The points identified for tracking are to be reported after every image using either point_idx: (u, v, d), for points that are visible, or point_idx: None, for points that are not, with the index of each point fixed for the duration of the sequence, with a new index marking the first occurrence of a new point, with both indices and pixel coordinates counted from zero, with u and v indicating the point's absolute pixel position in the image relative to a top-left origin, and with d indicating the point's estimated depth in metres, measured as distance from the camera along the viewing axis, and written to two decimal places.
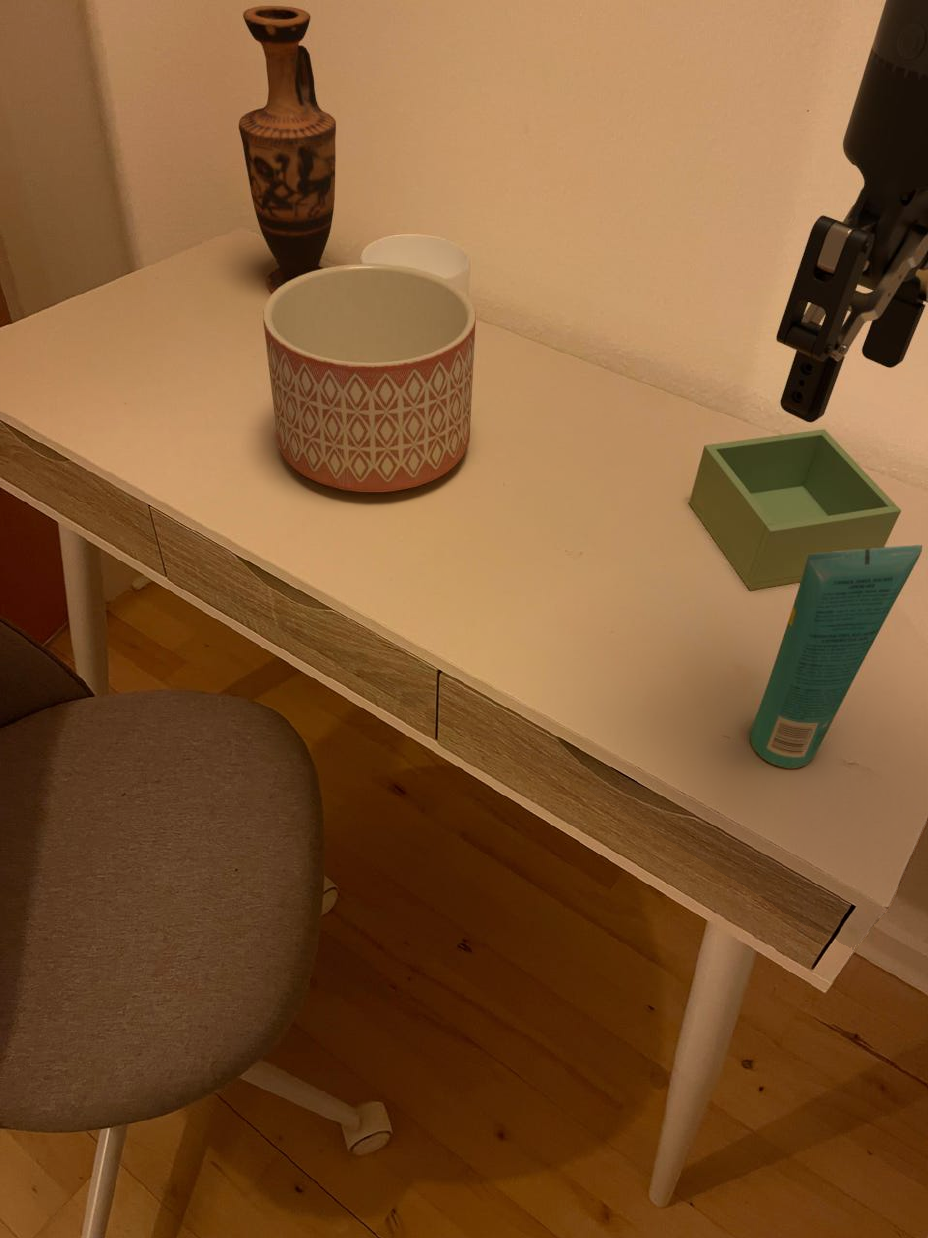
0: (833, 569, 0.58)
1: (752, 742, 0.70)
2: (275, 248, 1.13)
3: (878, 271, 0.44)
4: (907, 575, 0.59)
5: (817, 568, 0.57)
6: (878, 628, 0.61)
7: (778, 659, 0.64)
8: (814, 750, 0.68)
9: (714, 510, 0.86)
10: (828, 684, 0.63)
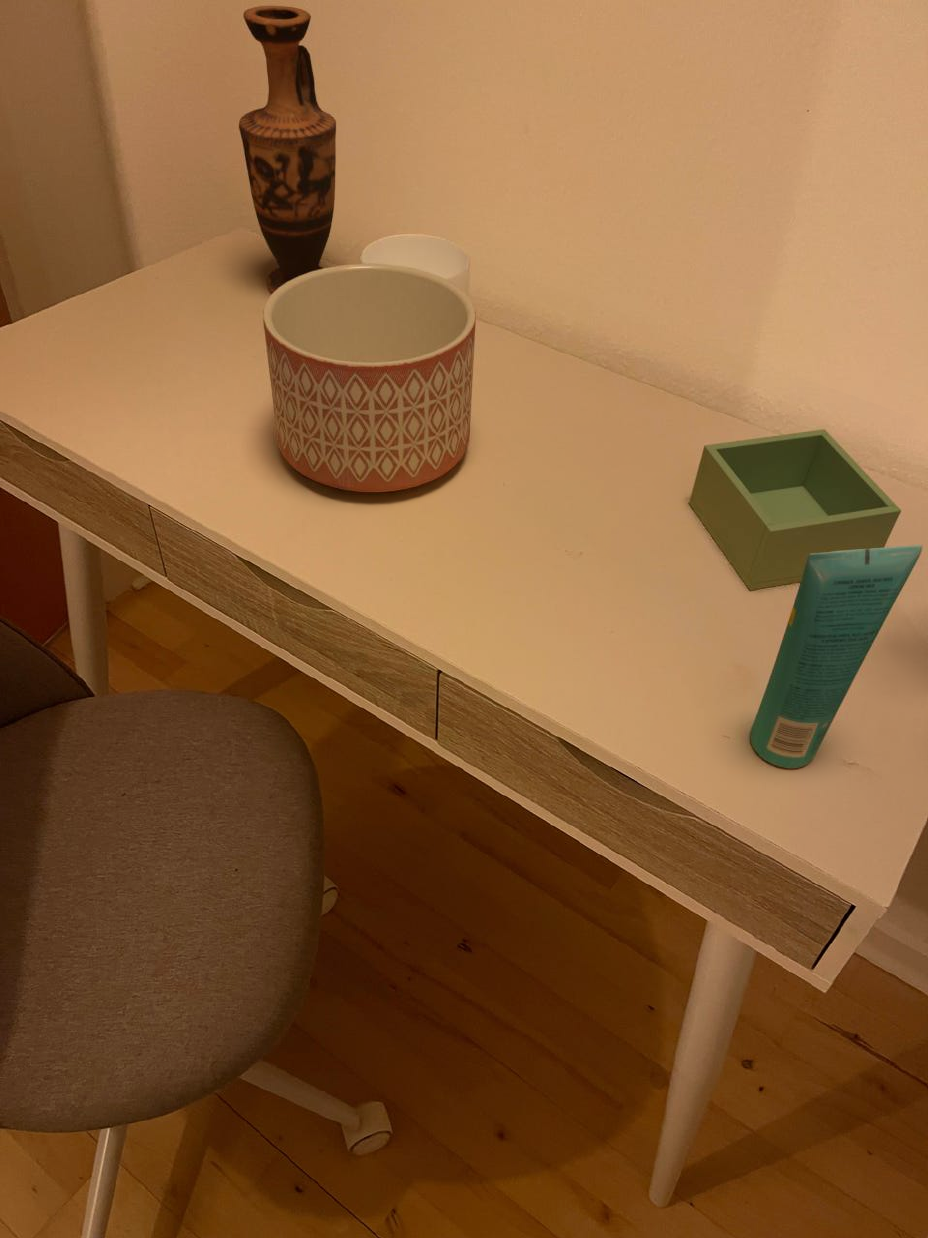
0: (833, 569, 0.58)
1: (752, 742, 0.70)
2: (275, 248, 1.13)
3: None
4: (907, 575, 0.59)
5: (817, 568, 0.57)
6: (878, 628, 0.61)
7: (778, 659, 0.64)
8: (814, 750, 0.68)
9: (714, 510, 0.86)
10: (828, 684, 0.63)
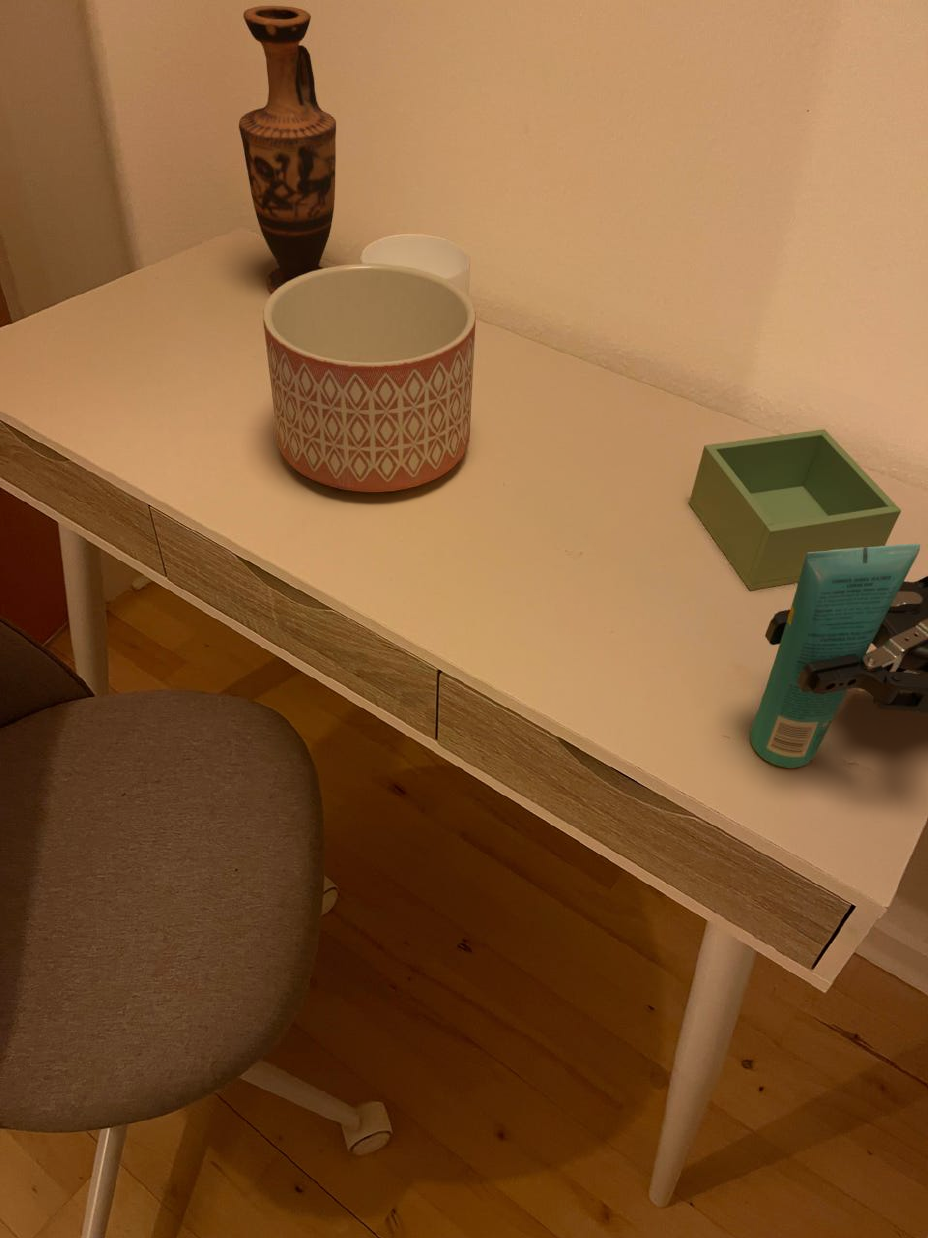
0: (831, 568, 0.58)
1: (752, 742, 0.70)
2: (275, 248, 1.13)
3: None
4: (905, 574, 0.59)
5: (815, 567, 0.57)
6: (877, 627, 0.61)
7: (777, 658, 0.64)
8: (814, 750, 0.68)
9: (714, 510, 0.86)
10: None
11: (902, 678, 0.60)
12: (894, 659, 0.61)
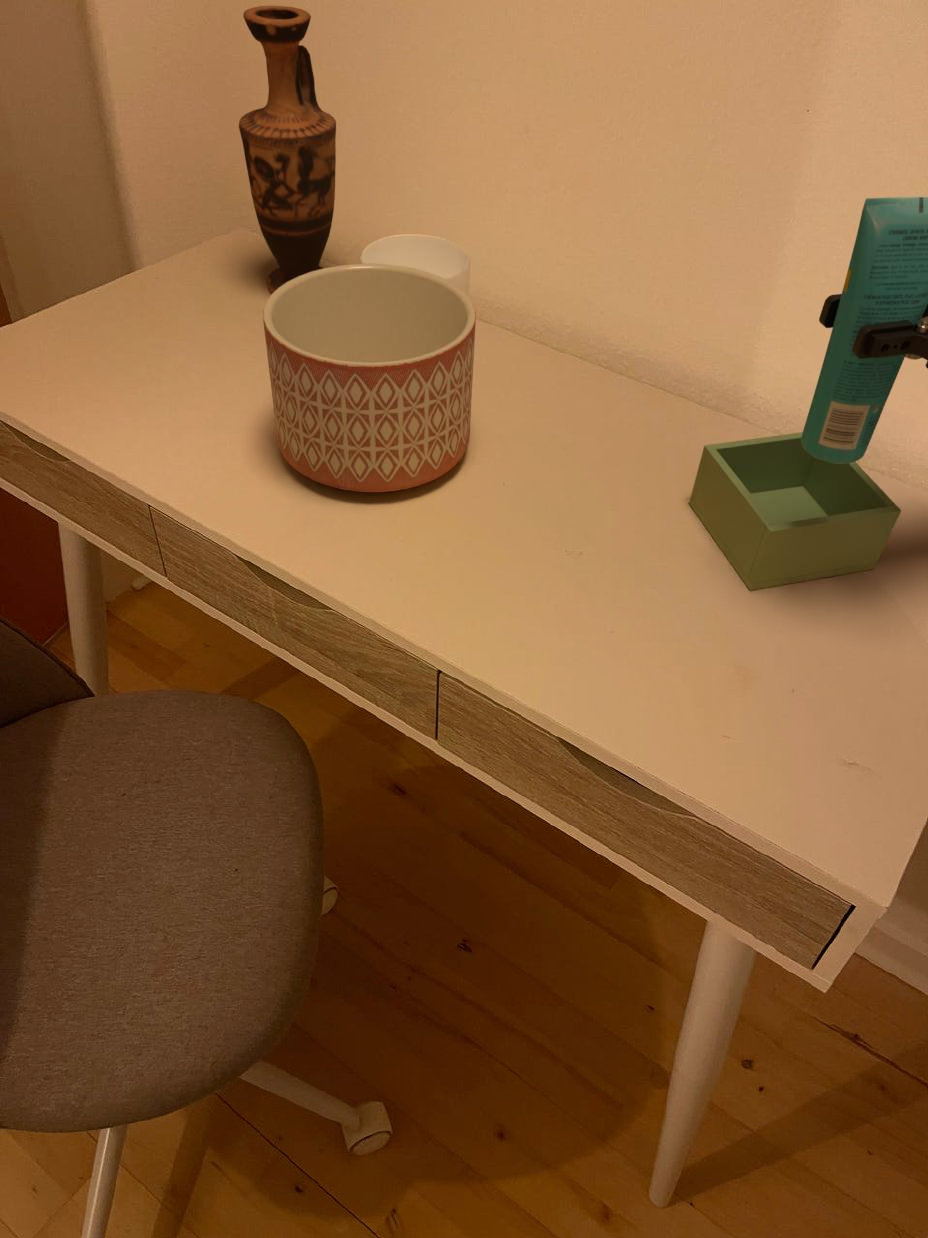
0: (888, 216, 0.60)
1: (803, 444, 0.73)
2: (275, 248, 1.13)
3: None
4: None
5: (873, 215, 0.60)
6: None
7: (832, 336, 0.67)
8: (864, 443, 0.71)
9: (714, 510, 0.86)
10: None
11: None
12: None
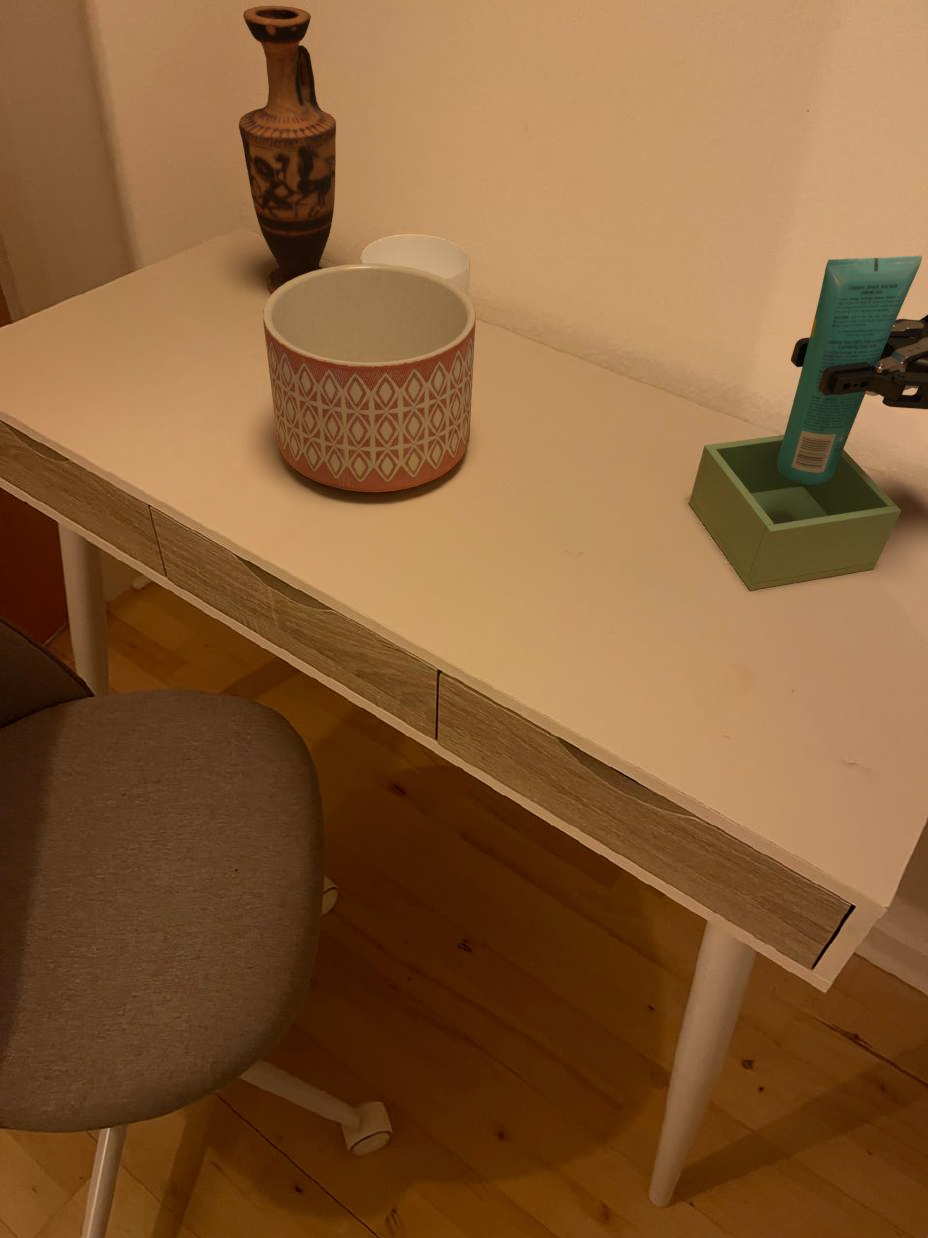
0: (848, 274, 0.70)
1: (779, 467, 0.83)
2: (275, 248, 1.13)
3: None
4: (909, 283, 0.71)
5: (834, 273, 0.70)
6: (885, 336, 0.73)
7: (801, 375, 0.76)
8: (832, 466, 0.81)
9: (714, 510, 0.86)
10: None
11: (906, 375, 0.72)
12: (900, 365, 0.74)
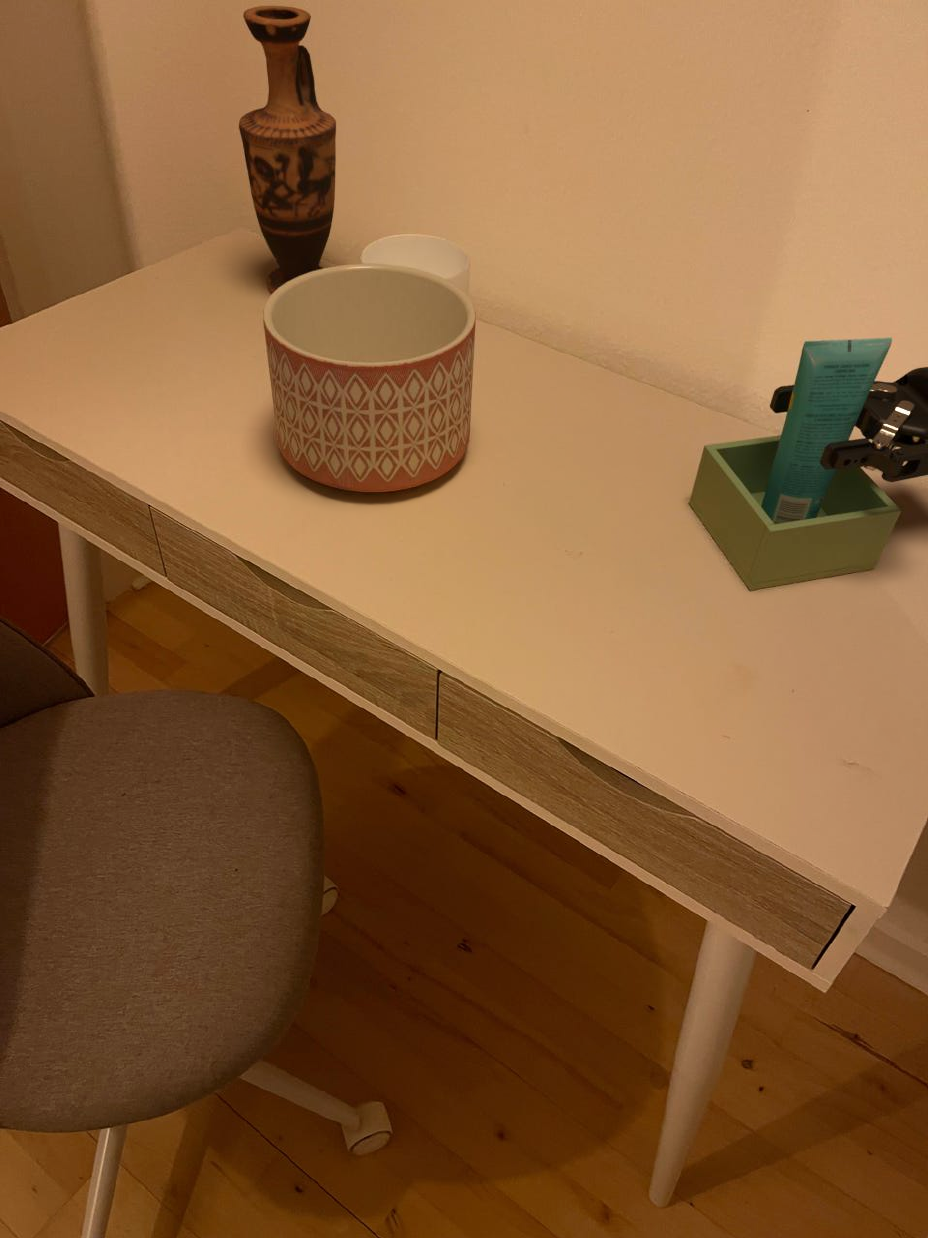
0: (823, 355, 0.74)
1: None
2: (275, 248, 1.13)
3: None
4: (881, 363, 0.76)
5: (811, 353, 0.74)
6: (858, 410, 0.78)
7: (780, 443, 0.81)
8: None
9: (714, 510, 0.86)
10: (819, 460, 0.80)
11: (903, 451, 0.75)
12: (893, 437, 0.77)
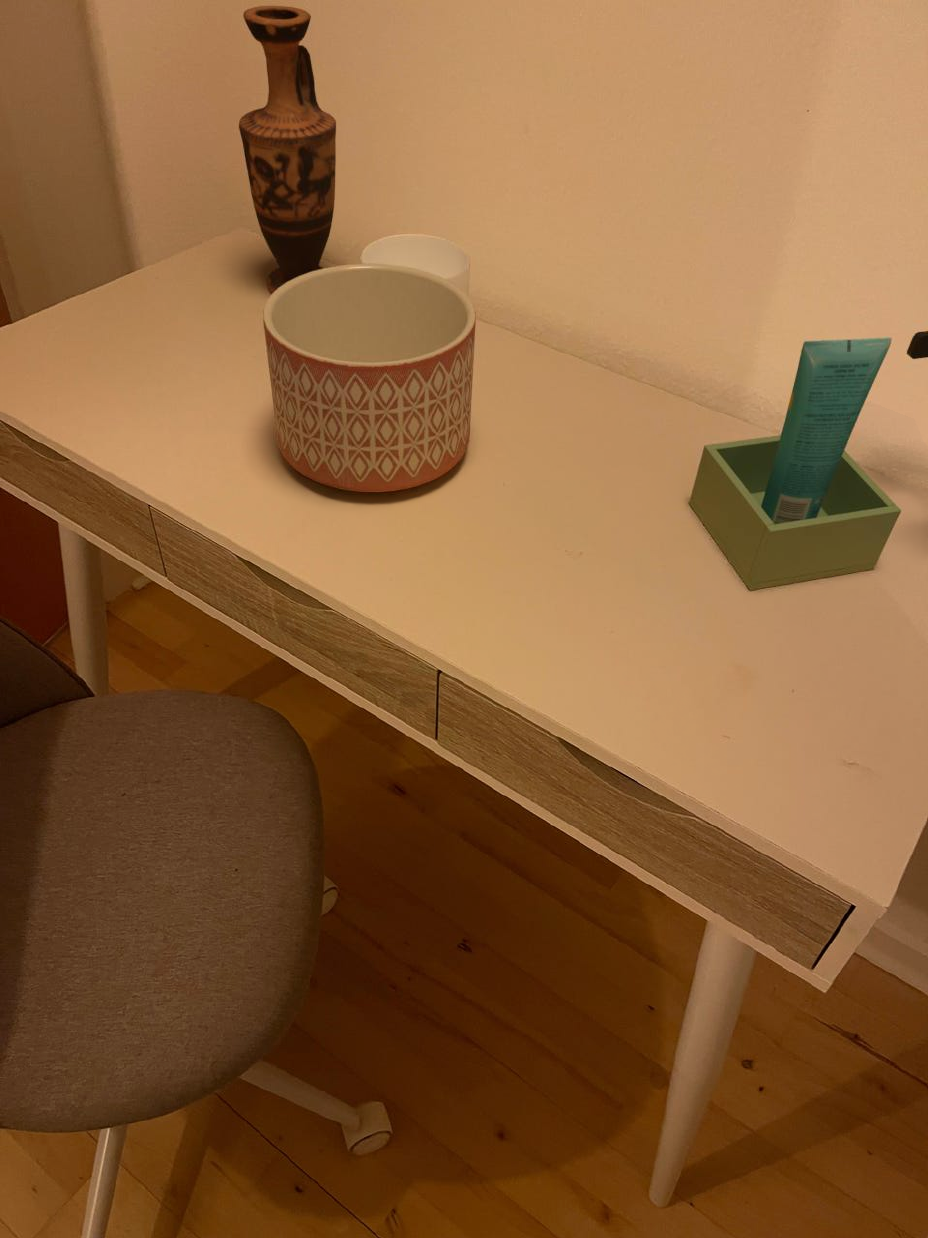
0: (822, 355, 0.74)
1: None
2: (275, 248, 1.13)
3: None
4: (880, 362, 0.76)
5: (810, 353, 0.74)
6: (858, 410, 0.78)
7: (780, 443, 0.81)
8: None
9: (714, 510, 0.86)
10: (819, 460, 0.80)
11: None
12: None
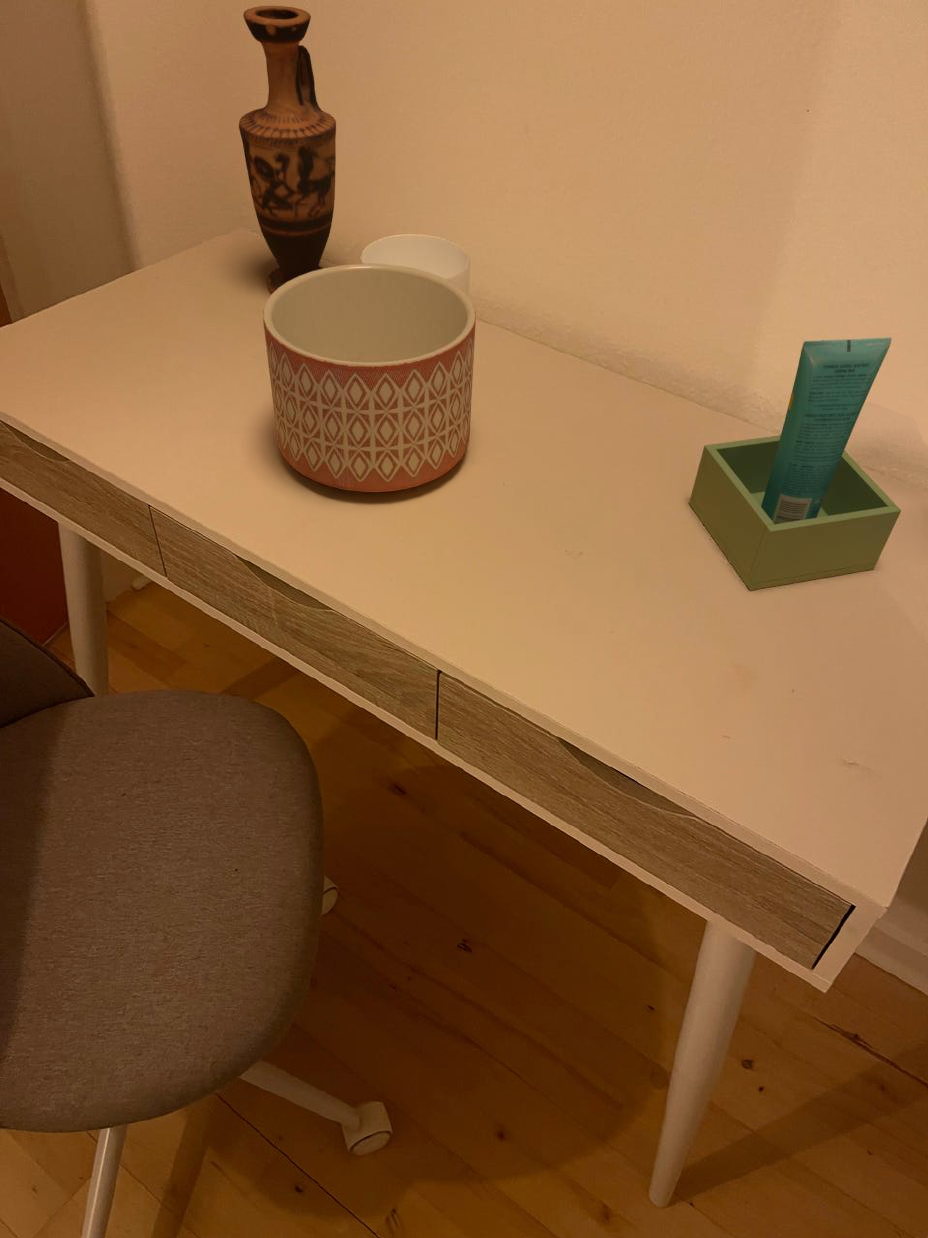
0: (822, 355, 0.74)
1: None
2: (275, 248, 1.13)
3: None
4: (880, 362, 0.76)
5: (810, 353, 0.74)
6: (858, 410, 0.78)
7: (780, 443, 0.81)
8: None
9: (714, 510, 0.86)
10: (819, 460, 0.80)
11: None
12: None
